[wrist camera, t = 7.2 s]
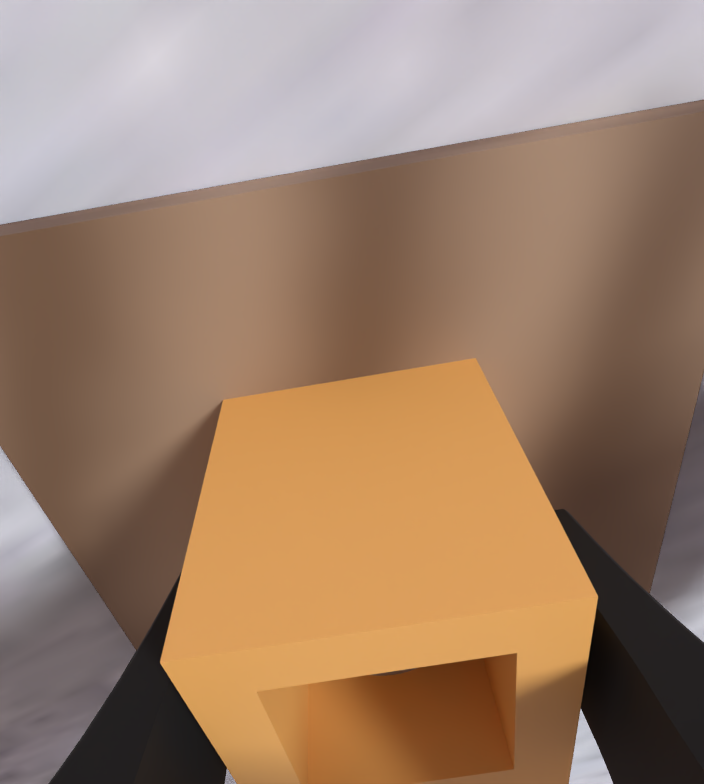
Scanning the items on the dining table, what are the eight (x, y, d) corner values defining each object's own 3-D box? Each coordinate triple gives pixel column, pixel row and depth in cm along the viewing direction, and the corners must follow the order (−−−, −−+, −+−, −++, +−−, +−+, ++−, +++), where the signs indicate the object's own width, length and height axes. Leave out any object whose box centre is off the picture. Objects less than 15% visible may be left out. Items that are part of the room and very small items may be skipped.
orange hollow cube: (475, 357, 12) (598, 596, 7) (480, 532, 15) (568, 785, 10) (223, 399, 12) (160, 662, 7) (280, 564, 15) (265, 827, 10)
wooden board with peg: (731, 94, 10) (1082, 142, 6) (632, 572, 18) (744, 757, 13) (-91, 240, 11) (-397, 396, 6) (158, 644, 18) (107, 847, 14)
